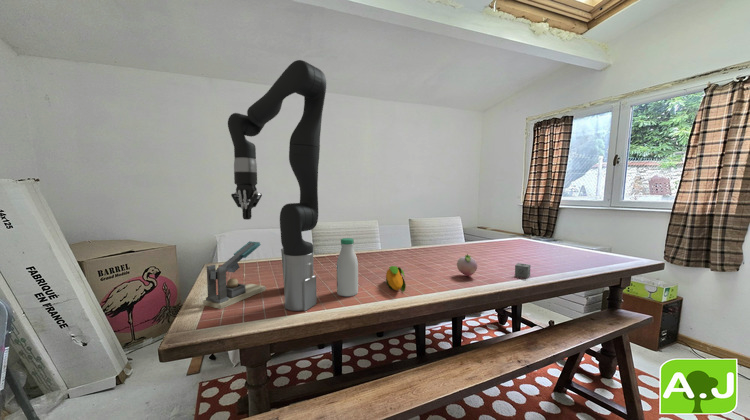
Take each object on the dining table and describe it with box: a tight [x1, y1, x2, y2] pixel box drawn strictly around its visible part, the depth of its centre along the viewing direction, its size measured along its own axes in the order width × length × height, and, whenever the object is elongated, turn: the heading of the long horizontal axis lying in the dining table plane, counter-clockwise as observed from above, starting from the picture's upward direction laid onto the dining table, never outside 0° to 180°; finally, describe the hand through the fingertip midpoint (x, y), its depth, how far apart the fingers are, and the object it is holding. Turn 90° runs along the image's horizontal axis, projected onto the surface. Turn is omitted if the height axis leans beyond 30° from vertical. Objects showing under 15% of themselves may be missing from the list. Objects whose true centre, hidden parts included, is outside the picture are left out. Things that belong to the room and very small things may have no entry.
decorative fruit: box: [456, 253, 478, 278], centre depth 123 cm, size 9×8×10 cm
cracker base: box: [202, 264, 267, 310], centre depth 98 cm, size 8×19×13 cm, turn 157°
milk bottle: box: [336, 237, 359, 297], centre depth 102 cm, size 8×8×20 cm
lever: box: [210, 241, 261, 281], centre depth 98 cm, size 5×17×11 cm, turn 157°
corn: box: [385, 265, 407, 292], centre depth 109 cm, size 7×8×20 cm
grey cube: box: [514, 262, 531, 279], centre depth 124 cm, size 5×5×5 cm
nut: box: [226, 277, 239, 289], centre depth 97 cm, size 4×4×4 cm
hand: (247, 219), depth 102 cm, fingers closed
